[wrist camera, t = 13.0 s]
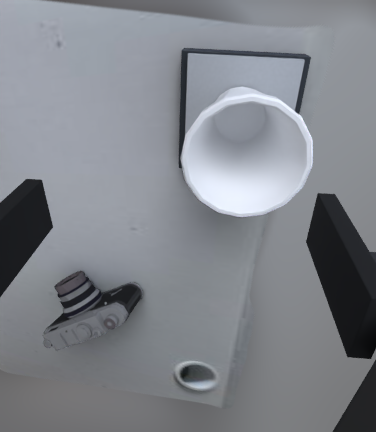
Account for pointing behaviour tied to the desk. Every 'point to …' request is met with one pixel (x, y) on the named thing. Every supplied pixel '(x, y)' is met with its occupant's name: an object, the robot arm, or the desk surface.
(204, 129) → the cup
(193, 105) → the scale
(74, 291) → the camera
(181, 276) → the desk surface
